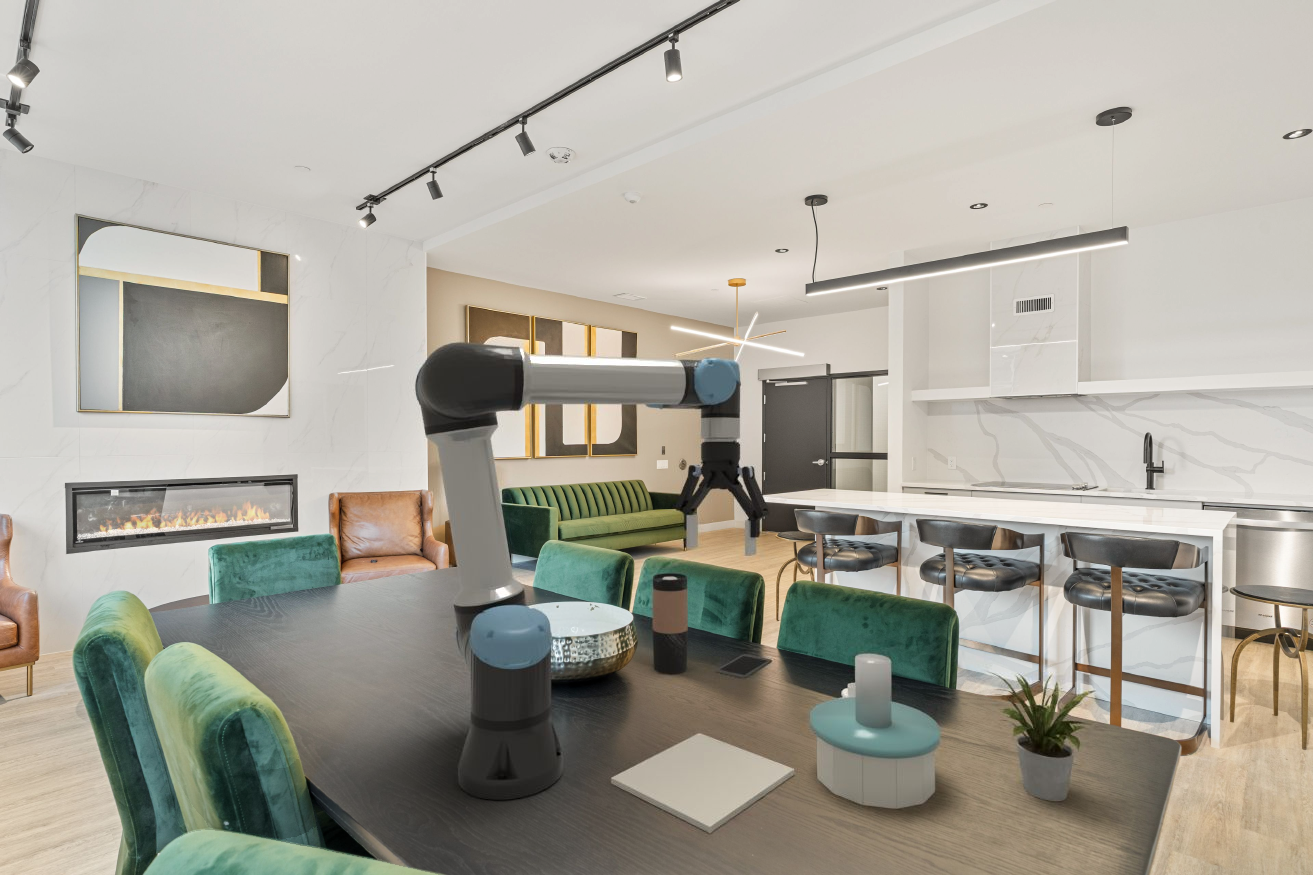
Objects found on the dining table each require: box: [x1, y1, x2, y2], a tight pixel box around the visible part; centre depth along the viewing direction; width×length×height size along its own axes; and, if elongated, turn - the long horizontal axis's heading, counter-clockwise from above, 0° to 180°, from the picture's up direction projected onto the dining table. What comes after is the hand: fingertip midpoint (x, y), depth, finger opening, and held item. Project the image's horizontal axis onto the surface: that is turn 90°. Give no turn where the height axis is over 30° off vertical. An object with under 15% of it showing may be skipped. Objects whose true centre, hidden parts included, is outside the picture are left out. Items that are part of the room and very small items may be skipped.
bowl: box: [816, 735, 936, 810], centre depth 96 cm, size 16×16×7 cm
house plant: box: [983, 670, 1096, 802], centre depth 93 cm, size 14×14×16 cm
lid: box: [809, 653, 941, 759], centre depth 96 cm, size 18×18×10 cm
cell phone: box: [715, 653, 773, 679], centre depth 145 cm, size 7×14×1 cm, turn 145°
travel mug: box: [652, 572, 689, 675], centre depth 143 cm, size 8×8×20 cm
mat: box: [610, 732, 795, 834], centre depth 96 cm, size 20×18×1 cm
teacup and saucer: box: [837, 682, 855, 699], centre depth 123 cm, size 9×8×4 cm
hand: (720, 551), depth 127 cm, fingers open, 13 cm apart
